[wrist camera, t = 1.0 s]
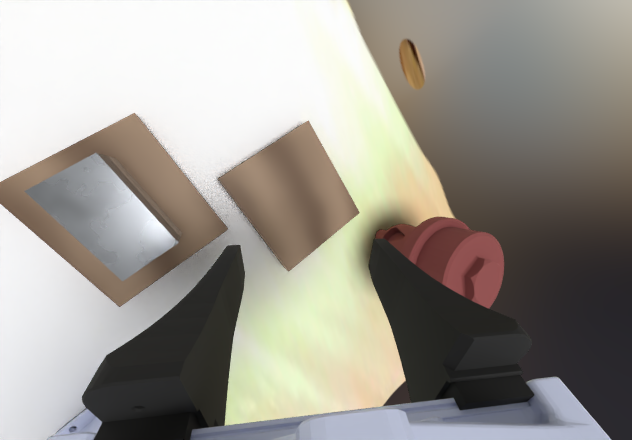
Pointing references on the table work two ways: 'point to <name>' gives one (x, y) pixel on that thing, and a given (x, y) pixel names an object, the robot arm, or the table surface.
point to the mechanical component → (452, 256)
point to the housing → (108, 213)
